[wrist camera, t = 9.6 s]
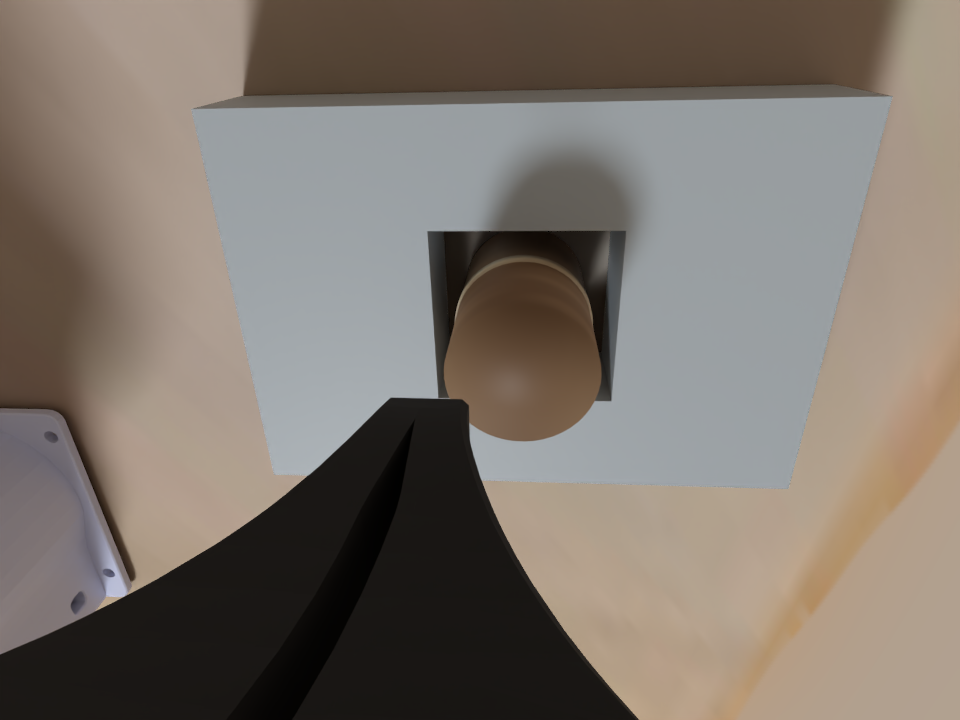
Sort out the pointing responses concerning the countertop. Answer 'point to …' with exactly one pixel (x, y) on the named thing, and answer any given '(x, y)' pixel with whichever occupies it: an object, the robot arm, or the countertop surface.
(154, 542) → the countertop surface
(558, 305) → the walnut peg
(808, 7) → the countertop surface
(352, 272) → the grey board
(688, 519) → the countertop surface
